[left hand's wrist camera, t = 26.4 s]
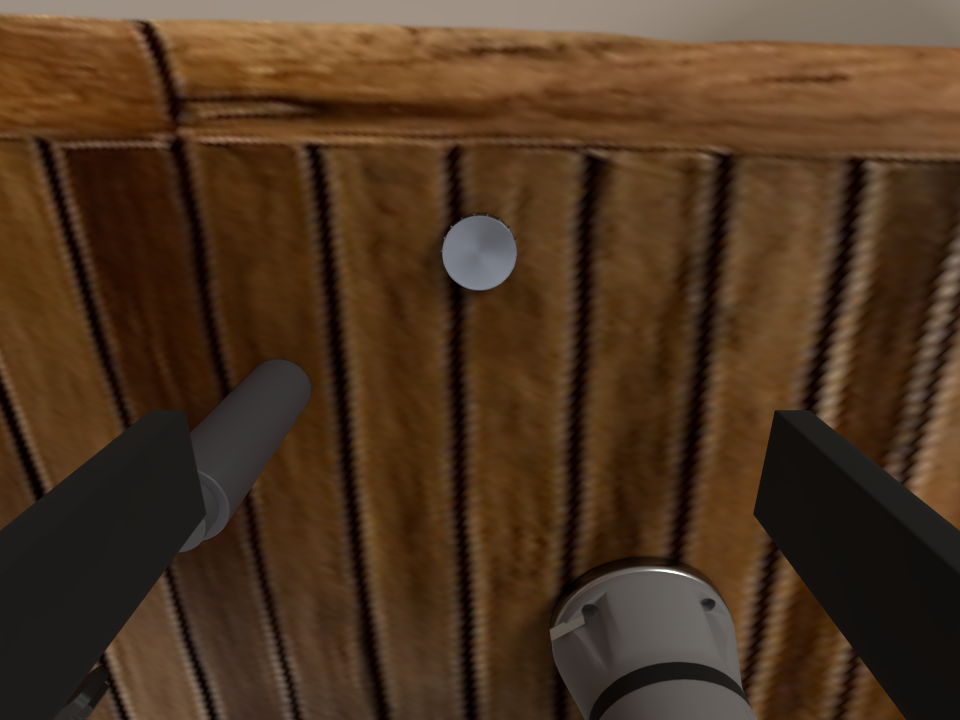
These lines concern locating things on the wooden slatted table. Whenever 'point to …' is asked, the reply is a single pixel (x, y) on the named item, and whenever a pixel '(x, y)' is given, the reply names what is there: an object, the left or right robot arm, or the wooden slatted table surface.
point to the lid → (479, 251)
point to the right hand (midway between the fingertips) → (30, 634)
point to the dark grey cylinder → (244, 439)
